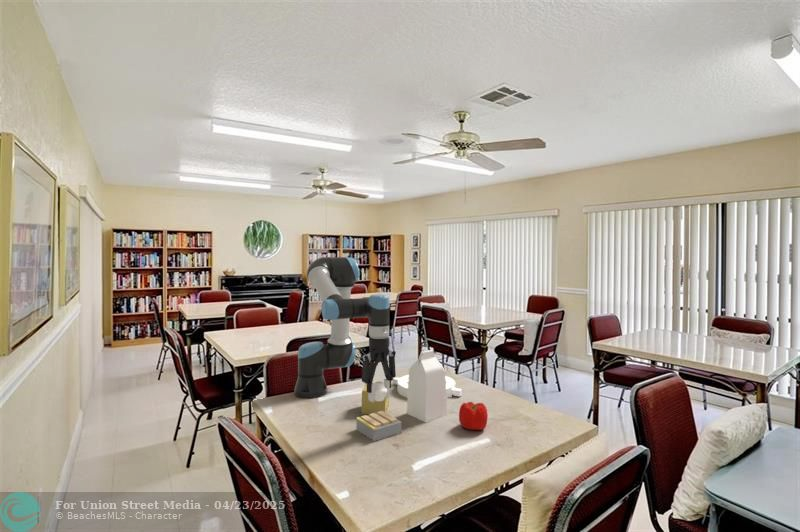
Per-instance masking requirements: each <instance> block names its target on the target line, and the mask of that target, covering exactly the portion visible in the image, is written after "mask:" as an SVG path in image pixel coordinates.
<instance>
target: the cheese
mask: <svg viewBox="0 0 800 532" xmlns="http://www.w3.org/2000/svg"><path fill="white" fill-rule="evenodd" d="M372 383H373V382H372ZM373 384H375V382H374V383H373ZM389 404H390V398H386V397H385V398H384V400H383V401H375V400H374V402H371V401H369V400H368V392H367V384H366V383H365V384H364V386H363V389H362V391H361V414H362V415H369V414H372V413H375V414H377V412H379V411H383V412H385V413H387V409H388V408H389Z"/></svg>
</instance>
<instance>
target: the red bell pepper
mask: <svg viewBox="0 0 800 532" xmlns="http://www.w3.org/2000/svg"><path fill="white" fill-rule="evenodd" d="M488 416H489V415H488V409H487V406H486V404H484V403H483V402H477V403H474V402H473V401H468V402H463V403H462V404H460V407H459V413H458V420H459V423H460V424H459V425H460V426H462V427H463V428H464V429H466V430H469V431H470V430H472V431H473V430H475V431H481V430H484V429H486V428H487V423H488Z"/></svg>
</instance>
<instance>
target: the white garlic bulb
mask: <svg viewBox="0 0 800 532" xmlns="http://www.w3.org/2000/svg"><path fill="white" fill-rule="evenodd" d="M374 383H375V384H374V400H375V401H383V400H384V398H385V396H386V394H387V388H386V387H385V386H384V381H379V380H378V381H375V382H374Z"/></svg>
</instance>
